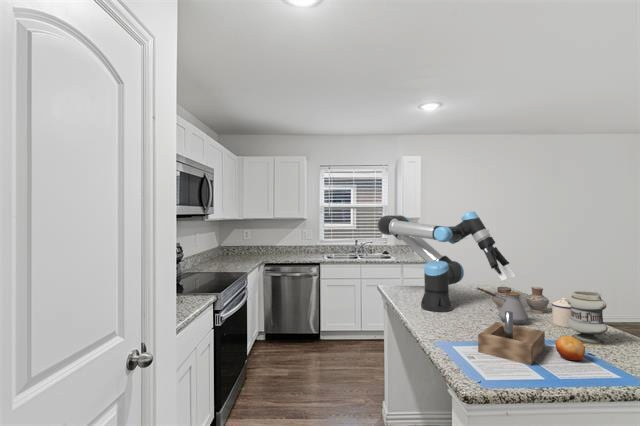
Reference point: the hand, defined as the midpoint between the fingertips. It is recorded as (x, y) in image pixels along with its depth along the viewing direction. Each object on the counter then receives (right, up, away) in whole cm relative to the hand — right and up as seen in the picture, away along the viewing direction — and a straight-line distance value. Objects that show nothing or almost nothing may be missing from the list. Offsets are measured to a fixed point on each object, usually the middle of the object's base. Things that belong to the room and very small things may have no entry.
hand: (509, 278), depth 165 cm
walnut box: (-22, -17, -43) cm, 51 cm away
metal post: (-25, -17, -45) cm, 54 cm away
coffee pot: (-9, -18, -10) cm, 22 cm away
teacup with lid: (+17, -18, -13) cm, 28 cm away
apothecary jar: (+11, -17, -33) cm, 39 cm away
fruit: (-7, -17, -50) cm, 53 cm away
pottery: (+10, -18, +9) cm, 23 cm away
